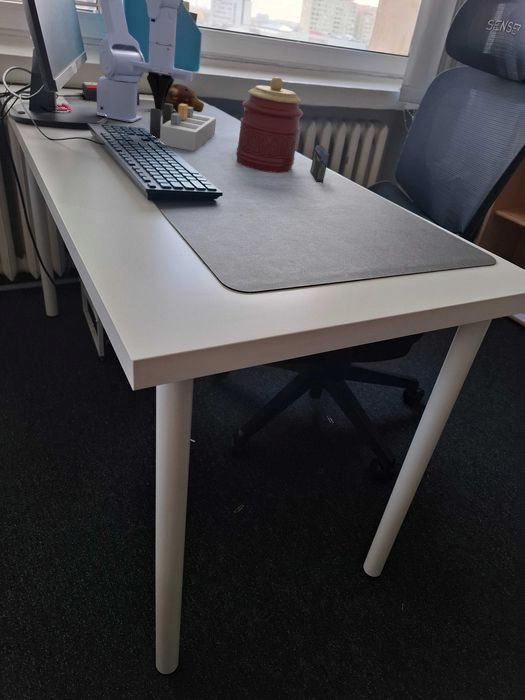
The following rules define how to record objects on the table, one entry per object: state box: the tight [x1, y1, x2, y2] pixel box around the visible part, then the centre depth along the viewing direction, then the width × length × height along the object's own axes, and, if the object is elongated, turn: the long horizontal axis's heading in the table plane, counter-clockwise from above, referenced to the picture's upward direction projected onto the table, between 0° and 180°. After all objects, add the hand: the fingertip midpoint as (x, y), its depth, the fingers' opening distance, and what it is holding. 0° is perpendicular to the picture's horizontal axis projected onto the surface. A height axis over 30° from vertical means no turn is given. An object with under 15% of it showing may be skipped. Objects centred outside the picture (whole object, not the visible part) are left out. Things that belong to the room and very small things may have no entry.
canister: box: [235, 76, 304, 173], centre depth 110 cm, size 13×13×18 cm
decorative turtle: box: [165, 83, 205, 113], centre depth 148 cm, size 10×15×8 cm, turn 88°
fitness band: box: [56, 103, 72, 111], centre depth 128 cm, size 8×6×2 cm
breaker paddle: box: [178, 104, 188, 120], centre depth 121 cm, size 2×3×3 cm, turn 172°
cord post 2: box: [161, 103, 174, 125], centre depth 127 cm, size 2×2×6 cm
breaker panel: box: [159, 106, 217, 152], centre depth 122 cm, size 8×22×6 cm, turn 172°
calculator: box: [81, 81, 140, 106], centre depth 151 cm, size 11×4×15 cm
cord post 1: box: [149, 107, 162, 139], centre depth 118 cm, size 2×2×6 cm
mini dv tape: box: [309, 144, 330, 184], centre depth 111 cm, size 8×2×6 cm, turn 4°
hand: (159, 109), depth 121 cm, fingers closed
